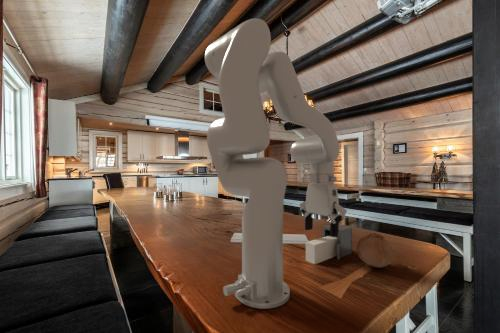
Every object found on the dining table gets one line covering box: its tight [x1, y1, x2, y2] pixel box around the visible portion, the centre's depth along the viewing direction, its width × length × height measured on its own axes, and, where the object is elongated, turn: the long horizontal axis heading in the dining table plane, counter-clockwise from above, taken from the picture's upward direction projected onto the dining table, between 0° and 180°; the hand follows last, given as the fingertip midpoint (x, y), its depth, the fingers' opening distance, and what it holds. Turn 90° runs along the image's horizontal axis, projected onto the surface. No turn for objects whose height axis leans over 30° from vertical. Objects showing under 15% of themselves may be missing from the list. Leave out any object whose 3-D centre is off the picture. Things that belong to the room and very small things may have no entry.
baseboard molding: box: [229, 232, 310, 245], centre depth 94 cm, size 31×3×12 cm
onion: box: [356, 232, 394, 269], centre depth 67 cm, size 10×9×10 cm
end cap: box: [316, 224, 353, 261], centre depth 79 cm, size 10×9×9 cm
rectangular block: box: [305, 236, 338, 265], centre depth 75 cm, size 14×4×6 cm, turn 126°
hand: (320, 232), depth 74 cm, fingers open, 9 cm apart
